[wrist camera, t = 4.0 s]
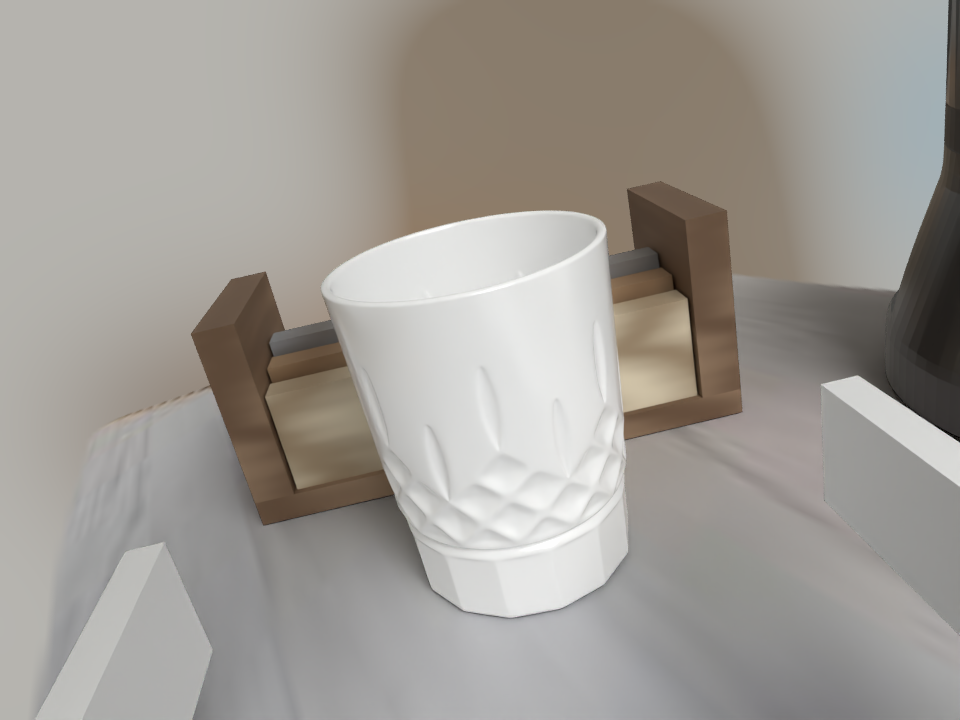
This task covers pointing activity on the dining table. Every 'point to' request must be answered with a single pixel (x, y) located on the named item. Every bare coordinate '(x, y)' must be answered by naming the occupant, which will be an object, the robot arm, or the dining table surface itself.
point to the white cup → (494, 402)
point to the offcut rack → (338, 412)
